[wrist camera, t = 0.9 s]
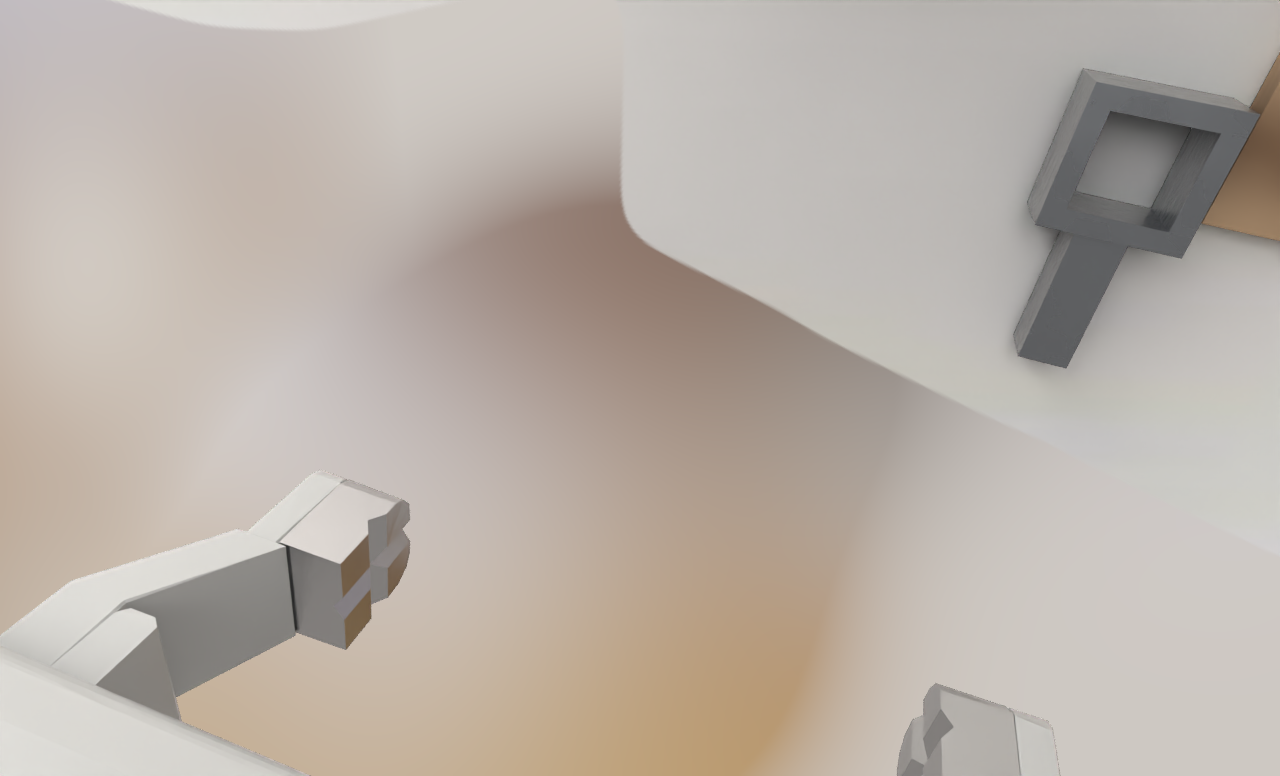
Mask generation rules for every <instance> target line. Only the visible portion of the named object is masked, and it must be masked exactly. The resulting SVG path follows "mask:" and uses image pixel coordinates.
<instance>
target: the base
mask: <svg viewBox="0 0 1280 776" xmlns="http://www.w3.org/2000/svg"><path fill="white" fill-rule="evenodd" d="M1250 108H1251V109H1253V110H1254V111H1256V112H1257V113H1259V114H1261V115H1260V116H1259V118H1258V120H1257V122H1256V124H1255V126H1254V127H1253V129H1252V131H1251V133H1250V135H1249V136H1248V138H1247V140H1246V142H1245V144H1244V146H1243V147H1242V149H1241V151H1240V153H1239V155H1238V157H1237V158H1236V160H1235V162H1234V164H1233V166H1232V167H1231V169H1230V171H1229V173H1228V175H1227V177H1226V178H1225V180H1224V182H1223V184H1222V186H1221V187H1220V189H1219V191H1218V193H1217V195H1216V197H1215V198H1214V200H1213V202H1212V204H1211V206H1210V208H1209V209H1208V211H1207V213H1206V215H1205V217H1204V218H1203V220H1202V222H1201V223H1202V224H1206V225H1210V226H1215V227H1219V228H1224V229H1228V230H1233V231H1237V232H1242V233H1246V234H1251V235H1255V236H1260V237H1264V238H1269V239H1273V240H1278V241H1280V53H1279V55H1278V57H1277V59H1276V61H1275V62H1274V64H1273V66H1272V68H1271V70H1270V72H1269V74H1268V75H1267V77H1266V79H1265V81H1264V83H1263V85H1262V87H1261V88H1260V90H1259V92H1258V94H1257V96H1256V98H1255V100H1254V101H1253V103H1252V105H1251V107H1250Z"/></svg>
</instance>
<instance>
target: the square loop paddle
mask: <svg viewBox="0 0 1280 776" xmlns="http://www.w3.org/2000/svg"><path fill="white" fill-rule="evenodd" d="M1110 111H1113V112H1118V113H1123V114H1128V115H1133V116H1138V117H1142V118H1147V119H1152V120H1157V121H1162V122H1167V123H1172V124H1177V125H1182V126H1186V127H1191V128H1192V129H1191V131H1190V133H1189V135H1188V137H1187V139H1186V141H1185V143H1184V145H1183V147H1182V149H1181V151H1180V153H1179V155H1178V156H1177V158H1176V160H1175V162H1174V164H1173V166H1172V168H1171V170H1170V172H1169V174H1168V176H1167V178H1166V180H1165V182H1164V184H1163V186H1162V188H1161V190H1160V192H1159V194H1158V196H1157V198H1156V200H1155V202H1154V204H1153V206H1152V208H1146V207H1142V206H1137V205H1133V204H1128V203H1124V202H1119V201H1115V200H1110V199H1106V198H1101V197H1097V196H1092V195H1088V194H1083V193H1079V192H1074V191H1075V189H1076V187H1077V184H1078V182H1079V180H1080V178H1081V175H1082V173H1083V171H1084V169H1085V166H1086V164H1087V162H1088V160H1089V158H1090V155H1091V153H1092V151H1093V149H1094V146H1095V144H1096V142H1097V140H1098V137H1099V135H1100V133H1101V131H1102V129H1103V126H1104V124H1105V122H1106V120H1107V117H1108V115H1109V113H1110ZM1260 115H1261V114H1259V113H1257V112H1256V111H1254V110H1253V109H1251V108H1249V107H1248V106H1246V105H1244V104H1243V103H1241V102H1239V101H1238V100H1236V99H1234V98H1231V97H1226V96H1221V95H1216V94H1211V93H1206V92H1200V91H1195V90H1190V89H1185V88H1180V87H1175V86H1170V85H1165V84H1160V83H1155V82H1150V81H1145V80H1139V79H1134V78H1129V77H1124V76H1119V75H1114V74H1109V73H1104V72H1099V71H1094V70H1089V69H1084V68H1083V70H1082V72H1081V75H1080V77H1079V79H1078V82H1077V84H1076V87H1075V89H1074V91H1073V94H1072V96H1071V99H1070V101H1069V103H1068V106H1067V108H1066V111H1065V113H1064V115H1063V118H1062V120H1061V122H1060V125H1059V127H1058V130H1057V132H1056V134H1055V137H1054V139H1053V142H1052V144H1051V146H1050V149H1049V151H1048V154H1047V156H1046V158H1045V161H1044V163H1043V165H1042V168H1041V170H1040V173H1039V175H1038V177H1037V180H1036V182H1035V185H1034V187H1033V189H1032V192H1031V194H1030V197H1029V199H1028V201H1027V203H1028V206H1029V209H1030V212H1031V215H1032V218H1033V221H1034V224H1035V225H1039V226H1043V227H1047V228H1052V229H1056V230H1060V232H1059V234H1058V237H1057V239H1056V241H1055V243H1054V245H1053V248H1052V250H1051V252H1050V254H1049V256H1048V259H1047V261H1046V263H1045V265H1044V268H1043V270H1042V272H1041V274H1040V276H1039V279H1038V281H1037V283H1036V285H1035V288H1034V290H1033V292H1032V294H1031V296H1030V299H1029V301H1028V303H1027V305H1026V308H1025V310H1024V312H1023V314H1022V316H1021V319H1020V321H1019V323H1018V325H1017V327H1016V330H1015V332H1014V339H1015V344H1016V349H1017V354H1018V356H1020V357H1024V358H1028V359H1032V360H1036V361H1040V362H1043V363H1047V364H1051V365H1055V366H1059V367H1063V368H1067V366H1068V364H1069V362H1070V360H1071V358H1072V356H1073V354H1074V352H1075V350H1076V348H1077V346H1078V344H1079V342H1080V340H1081V338H1082V336H1083V334H1084V332H1085V330H1086V328H1087V326H1088V324H1089V322H1090V320H1091V318H1092V317H1093V315H1094V313H1095V311H1096V309H1097V307H1098V305H1099V303H1100V301H1101V299H1102V297H1103V295H1104V293H1105V291H1106V289H1107V287H1108V285H1109V283H1110V281H1111V279H1112V277H1113V275H1114V273H1115V271H1116V269H1117V267H1118V265H1119V263H1120V261H1121V259H1122V257H1123V255H1124V253H1125V251H1126V249H1127V247H1128V246H1129V247H1134V248H1138V249H1142V250H1147V251H1151V252H1155V253H1160V254H1164V255H1168V256H1173V257H1177V258H1181V259H1182V257H1183V255H1184V253H1185V251H1186V249H1187V248H1188V246H1189V244H1190V242H1191V240H1192V239H1193V237H1194V235H1195V233H1196V231H1197V229H1198V228H1199V226H1200V224H1201V222H1202V220H1203V218H1204V217H1205V215H1206V213H1207V211H1208V209H1209V208H1210V206H1211V204H1212V202H1213V200H1214V198H1215V197H1216V195H1217V193H1218V191H1219V189H1220V187H1221V186H1222V184H1223V182H1224V180H1225V178H1226V177H1227V175H1228V173H1229V171H1230V169H1231V167H1232V166H1233V164H1234V162H1235V160H1236V158H1237V157H1238V155H1239V153H1240V151H1241V149H1242V147H1243V146H1244V144H1245V142H1246V140H1247V138H1248V136H1249V135H1250V133H1251V131H1252V129H1253V127H1254V126H1255V124H1256V122H1257V120H1258V118H1259V116H1260Z"/></svg>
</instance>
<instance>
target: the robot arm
mask: <svg viewBox="0 0 1280 776" xmlns="http://www.w3.org/2000/svg"><path fill="white" fill-rule="evenodd" d="M409 520H410V514H409V503H407V502H406V501H404V500H402V499H399V498H396V497H394V496H391V495H388V494H386V493H383V492H381V491H378V490H375V489H373V488H370V487H367V486H365V485H362V484H359V483H357V482H354V481H351V480H347V479H345V478H342V477H339V476H337V475H334V474H331V473H329V472H326V471H323V470H320V471H317V472H314V473H312V474H310V475H309V476H308V477H307V478H306V479H305V480H304V481H303V482H301V483H300V485H298V486H297V487H296V488H295V489H294V490H293V491H291V492H290V493H289V494H288V495H287V496H286V497H285V498H284V499H283V500H281V501H280V502H279V503H278V504H277V505H276V506H275V507H274V508H273V509H271V510H270V511H269V512H268V513H267V514H266V515H265V516H263V517H262V518H261V519H260V520H259V521H258V522H257V523H256V524H255V525H253V526H252V527H251V528H250V529H249V530H248V531H247V532H246V531H243V530H240V529H236V530H233V531H230V532H226V533H224V534H220V535H217V536H214V537H210V538H207V539H204V540H201V541H198V542H194V543H191V544H188V545H185V546H181V547H178V548H175V549H172V550H169V551H166V552H162V553H159V554H156V555H153V556H149V557H146V558H143V559H140V560H137V561H134V562H130V563H127V564H124V565H120V566H117V567H114V568H111V569H108V570H104V571H101V572H98V573H95V574H91V575H89V576H85V577H82V578H79V579H75V580H72V581H70V582H69V583H68V584H66V585H65V586H64V587H62V588H61V589H60V590H58V591H57V592H56V593H55V594H53V595H52V596H51V597H49V598H48V599H47V600H45V601H44V602H43V603H41V604H40V605H39V606H38V607H36V608H35V609H34V610H33V611H31V612H30V613H28V614H27V615H26V616H25V617H23V618H22V619H21V620H19V621H18V622H17V623H16V624H14V625H13V626H12V627H10V628H9V629H8V630H6V631H5V632H4V633H2V634H1V635H0V776H310V775H308V774H306V773H303V772H301V771H298V770H296V769H294V768H291V767H289V766H287V765H284V764H282V763H279V762H277V761H275V760H272V759H270V758H268V757H265V756H263V755H260V754H258V753H256V752H253V751H251V750H248V749H246V748H243V747H241V746H239V745H236V744H234V743H232V742H229V741H227V740H225V739H222V738H220V737H218V736H215V735H212V734H210V733H208V732H206V731H203V730H201V729H198V728H196V727H194V726H191V725H189V724H187V723H184V722H182V720H181V716H180V712H179V708H178V704H177V700H176V697H178V696H180V695H182V694H184V693H185V692H187V691H189V690H191V689H193V688H195V687H197V686H199V685H201V684H203V683H205V682H207V681H209V680H210V679H213V678H214V677H216V676H218V675H220V674H222V673H224V672H226V671H228V670H230V669H232V668H234V667H236V666H238V665H240V664H241V663H243V662H245V661H247V660H249V659H251V658H253V657H255V656H257V655H259V654H261V653H263V652H265V651H267V650H269V649H270V648H272V647H274V646H276V645H278V644H280V643H282V642H284V641H286V640H288V639H290V638H292V637H294V636H295V634H296V633H299V634H302V635H305V636H308V637H311V638H313V639H316V640H319V641H322V642H325V643H328V644H331V645H333V646H336V647H339V648H342V649H345V650H346V649H347V648H348V647H349V646H350V644H351V643H352V642H353V640H354V639H355V638H356V637H357V636H358V634H359V633H360V631H362V629H363V628H364V627H365V625H366V624H367V623H368V622H369V620H370V619H371V604H373V603H376V602H378V601H380V600H383V599H385V598H388V596H389V595H390V594H391V593H392V591H393V590H394V589H395V587H396V586H397V585H398V583H399V581H400V579H401V577H402V575H403V573H404V570H405V569H406V566H407V562H408V558H409V553H410V540H409V539H408V537H407V536H406V534H405V533H404V531H403V529H402V528H403V527H404V526H405V525H406V524H407V523H408V521H409ZM295 632H296V633H295ZM897 776H1060V770H1059V764H1058V758H1057V752H1056V745H1055V740H1054V733H1053V728H1052V727H1051V725H1050V723H1049V722H1048V721H1047V720H1044V719H1041V718H1038V717H1035V716H1032V715H1029V714H1026V713H1023V712H1020V711H1017V710H1014V709H1011V708H1009V709H1008V708H1007V707H1005V706H1003V705H999V704H996V703H994V702H991V701H988V700H984V699H982V698H979V697H976V696H973V695H970V694H967V693H964V692H961V691H958V690H955V689H952V688H949V687H946V686H943V685H940V684H934V685H933V686H932V687H931V688H930V689H929V691H928V693H927V694H926V696H925V698H924V708H923V716H920V717H918V718H915V719H913V720H912V722H911V724H910V726H909V728H908V730H907V732H906V734H905V736H904V740H903V743H902V746H901V750H900V754H899V760H898V767H897Z"/></svg>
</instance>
